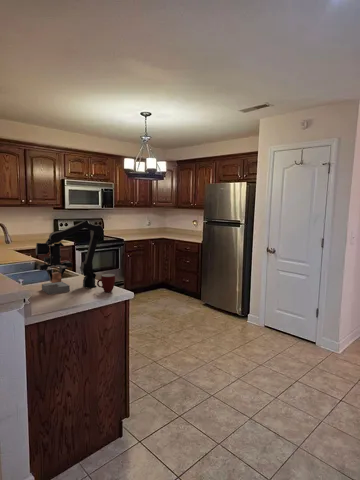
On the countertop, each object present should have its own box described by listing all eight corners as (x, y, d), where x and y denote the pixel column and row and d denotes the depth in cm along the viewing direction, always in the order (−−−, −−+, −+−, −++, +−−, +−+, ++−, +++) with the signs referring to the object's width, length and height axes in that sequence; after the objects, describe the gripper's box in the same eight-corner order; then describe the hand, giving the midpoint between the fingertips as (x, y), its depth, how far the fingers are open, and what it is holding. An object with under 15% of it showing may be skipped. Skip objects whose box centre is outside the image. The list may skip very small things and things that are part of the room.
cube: (58, 280, 190) (58, 272, 189) (61, 281, 186) (61, 273, 185) (49, 281, 186) (49, 273, 186) (52, 283, 183) (52, 274, 182)
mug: (96, 293, 183) (96, 277, 181) (97, 290, 190) (97, 274, 189) (115, 293, 185) (115, 276, 184) (114, 289, 193) (115, 273, 192)
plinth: (61, 286, 195) (61, 281, 195) (69, 291, 186) (69, 285, 186) (41, 289, 187) (41, 284, 187) (48, 294, 178) (48, 288, 178)
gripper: (65, 250, 196) (65, 275, 198) (34, 253, 184) (34, 279, 186) (72, 253, 188) (73, 278, 190) (40, 255, 176) (40, 283, 177)
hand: (55, 279), depth 186 cm, fingers closed on cube, 5 cm apart
